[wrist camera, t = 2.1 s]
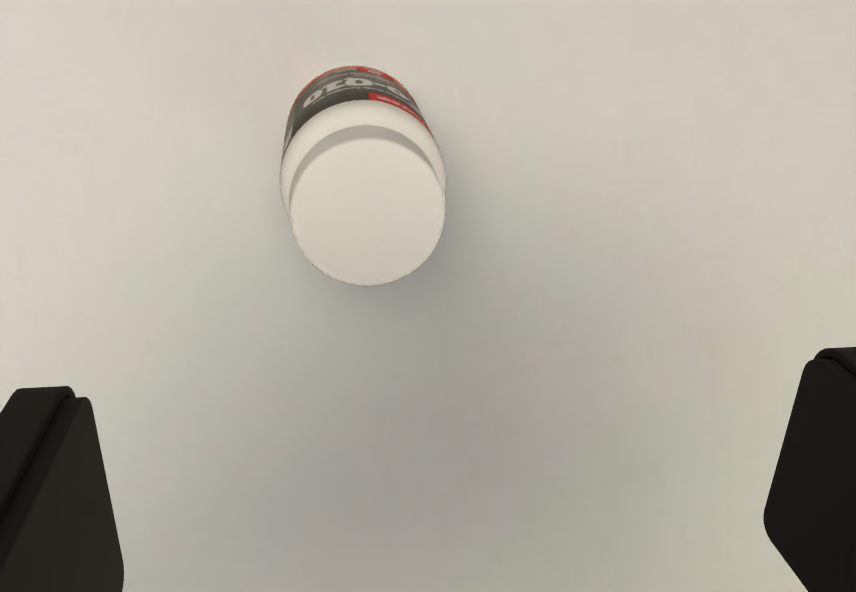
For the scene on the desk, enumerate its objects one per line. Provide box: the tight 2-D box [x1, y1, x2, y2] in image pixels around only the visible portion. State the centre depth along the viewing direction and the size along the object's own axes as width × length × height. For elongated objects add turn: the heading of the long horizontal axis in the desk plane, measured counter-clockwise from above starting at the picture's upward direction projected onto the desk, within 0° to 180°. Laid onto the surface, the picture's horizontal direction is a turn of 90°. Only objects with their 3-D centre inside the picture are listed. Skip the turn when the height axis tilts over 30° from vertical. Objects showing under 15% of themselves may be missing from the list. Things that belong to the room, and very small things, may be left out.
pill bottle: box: [280, 66, 446, 286], centre depth 23 cm, size 5×5×8 cm
